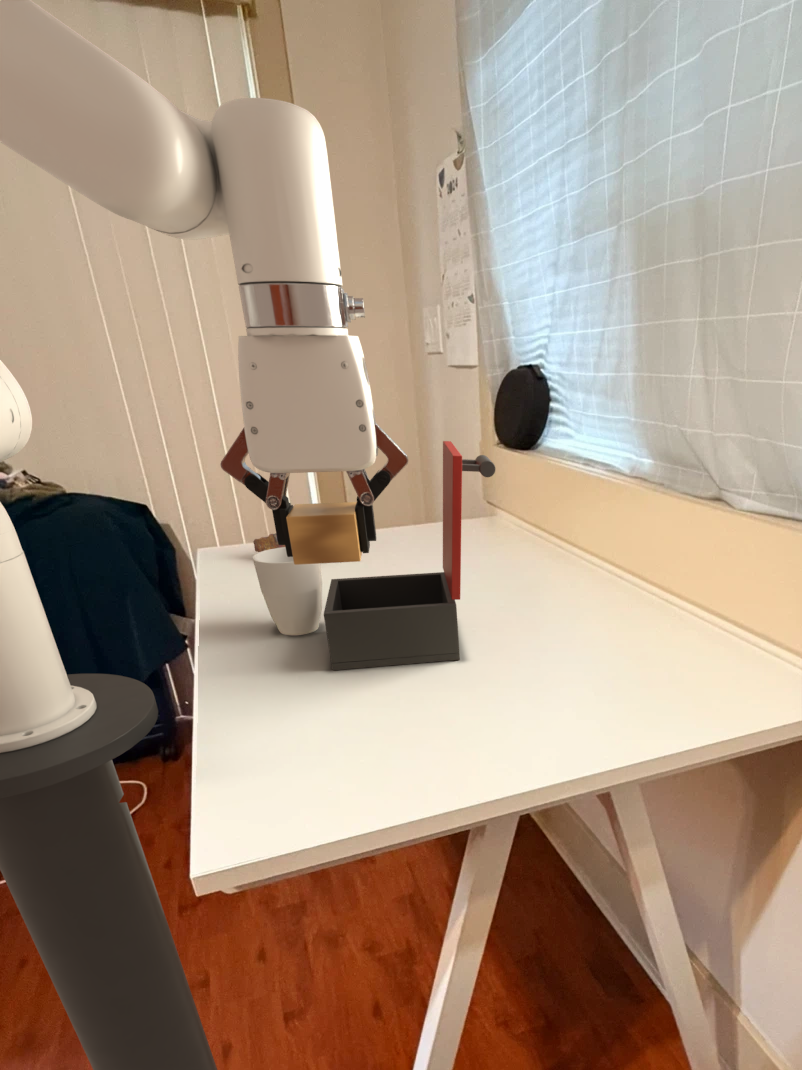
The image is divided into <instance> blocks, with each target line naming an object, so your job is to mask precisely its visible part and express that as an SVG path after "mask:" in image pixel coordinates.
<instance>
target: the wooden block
mask: <svg viewBox="0 0 802 1070" xmlns="http://www.w3.org/2000/svg"><path fill="white" fill-rule="evenodd" d="M356 503H357V501H345V502H321V503H320V502H319V503H318V502H316V503H295V504H294V505H293V508H292V510H291V511H290V513H289V514H288V515H287V517H286V519H287V525H288V531H289V537H290V543H291V549H292V555H293V560H294V564H295V565H299V564H319V563H321V564H333V563H335V564H336V563H356V562H361V561H362V555H363V552H361V551H360V543H359V535H358V527H357V519H356V512H355V506H356Z"/></svg>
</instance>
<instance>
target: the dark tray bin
mask: <svg viewBox="0 0 802 1070" xmlns="http://www.w3.org/2000/svg"><path fill="white" fill-rule="evenodd" d="M323 619H324V626H325V631H326V638H327V644H328V645H327V646H328V650H329V657H330V663H331V669H332V671H340V670H341V671H342V670H354V669H364V668H366V669H367V668H377V667H388V666H389V667H390V666H399V665H400V666H402V665H410V664H411V665H412V664H413V665H414V664H424V663H425V664H426V663H435V662H448V661H450V662H451V661H460V660H461V655H460V643H459V642H460V640H459V639H460V638H459V624H458V622H459V621H458V609H457V602H456V600H452V599H451V595H450V591H449V588H448V584H447V581H446V577H445V574H444V571H441V572H423V573H407V574H392V575H378V576H377V575H376V576H375V575H374V576H360V577H359V576H358V577H347V578H345V577H344V578H331V579H330V584H329V589H328V592H327V597H326V603H325V607H324V611H323Z"/></svg>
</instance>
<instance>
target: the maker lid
mask: <svg viewBox="0 0 802 1070" xmlns="http://www.w3.org/2000/svg"><path fill="white" fill-rule="evenodd" d="M462 455H463V454H461V453H460V451H459V449H458V448H457V447H456V446H455V445H454V443H453V442H452V441H449V440H443V441H442V570H443V572H444V574H445V577H446V581H447V584H448V588H449V591H450V595H451V599H452V600H455V601H456V600H457V601H458V600H461V588H462V587H461V580H462V576H461V575H462V511H463V510H462V507H463V506H462V505H463V504H462V503H463V472H475V473H480V475H481V476H482V477H485V478H491V477H493V476H494V475H495V474H496V465H495V463H494V462H492V460H491V459H490V458H489V457H488V456H487V455H484V454H480V455H478V456H476V458H475V459H468V458H467V459H466V458H465V459H464V458H463V456H462Z"/></svg>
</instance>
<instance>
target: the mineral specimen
mask: <svg viewBox="0 0 802 1070" xmlns="http://www.w3.org/2000/svg"><path fill="white" fill-rule="evenodd" d="M252 542H253V547H254V551H255V552H257V553H259V552H262V551H265V550H269V549H274V548H281V547H285V545H279V544H278V540H277V535H276V532H275V533H270V534H269V535H267V536H262V537H260V538H255V539H254V540H253V541H252Z"/></svg>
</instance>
